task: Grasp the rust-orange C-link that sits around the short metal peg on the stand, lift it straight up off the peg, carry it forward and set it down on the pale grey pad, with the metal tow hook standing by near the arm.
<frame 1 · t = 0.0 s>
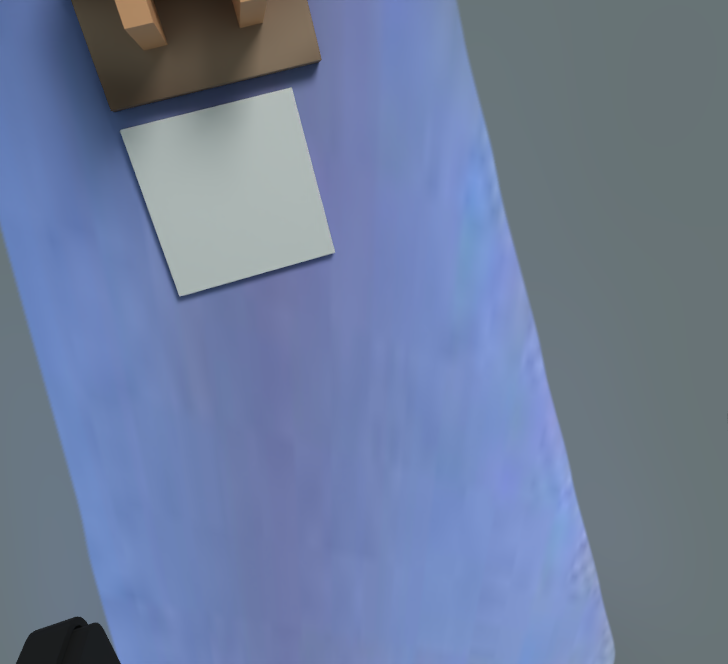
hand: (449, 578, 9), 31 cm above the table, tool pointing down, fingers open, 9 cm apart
pad: (234, 194, 36), on the table
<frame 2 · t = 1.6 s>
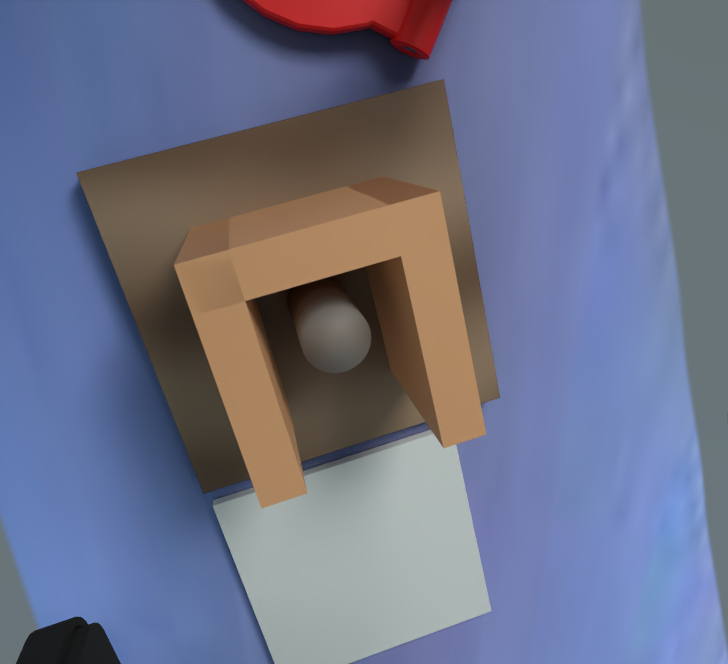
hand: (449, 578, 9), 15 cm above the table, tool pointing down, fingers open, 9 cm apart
pad: (362, 557, 26), on the table
c link: (315, 299, 21), point 1 cm above the table, touching stand
stand: (312, 293, 22), on the table
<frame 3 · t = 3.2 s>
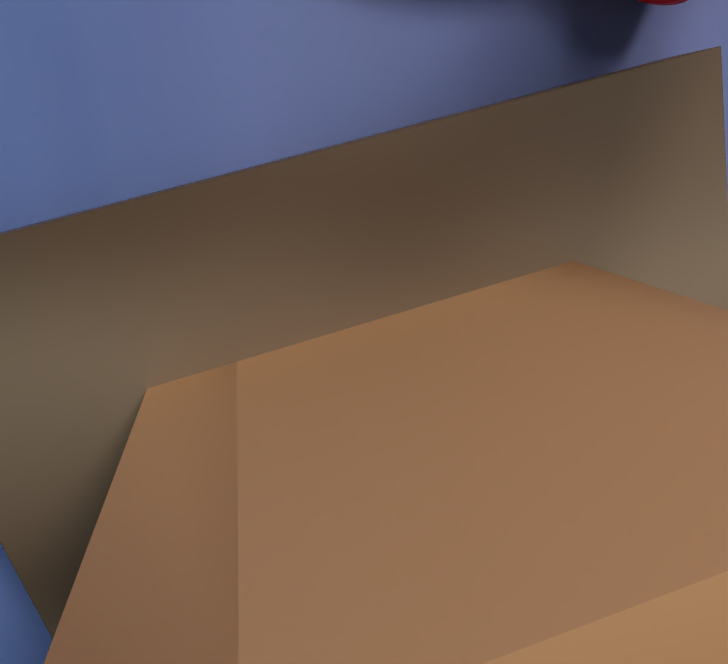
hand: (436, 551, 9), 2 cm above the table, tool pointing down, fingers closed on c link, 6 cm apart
c link: (418, 515, 10), point 1 cm above the table, touching gripper, stand
stand: (402, 484, 11), on the table
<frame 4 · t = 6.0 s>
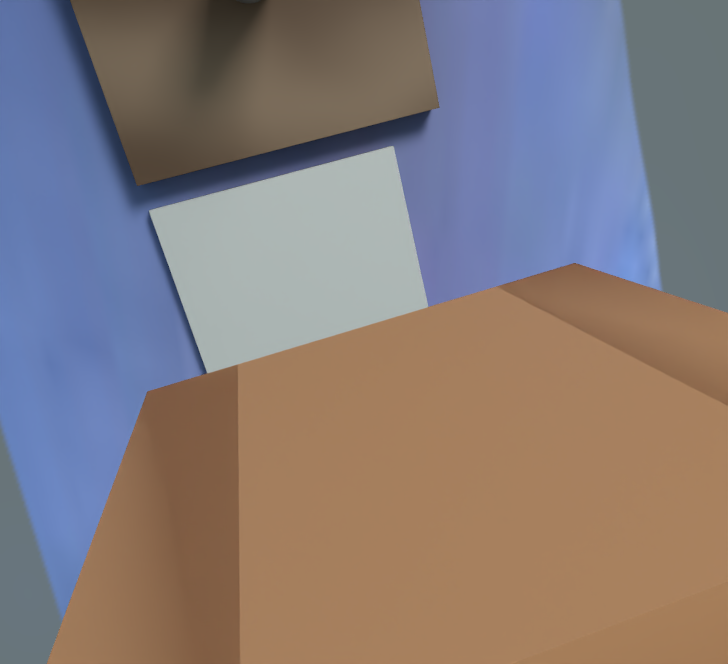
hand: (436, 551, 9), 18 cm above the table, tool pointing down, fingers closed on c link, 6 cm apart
pad: (306, 293, 26), on the table
c link: (419, 518, 10), point 17 cm above the table, touching gripper
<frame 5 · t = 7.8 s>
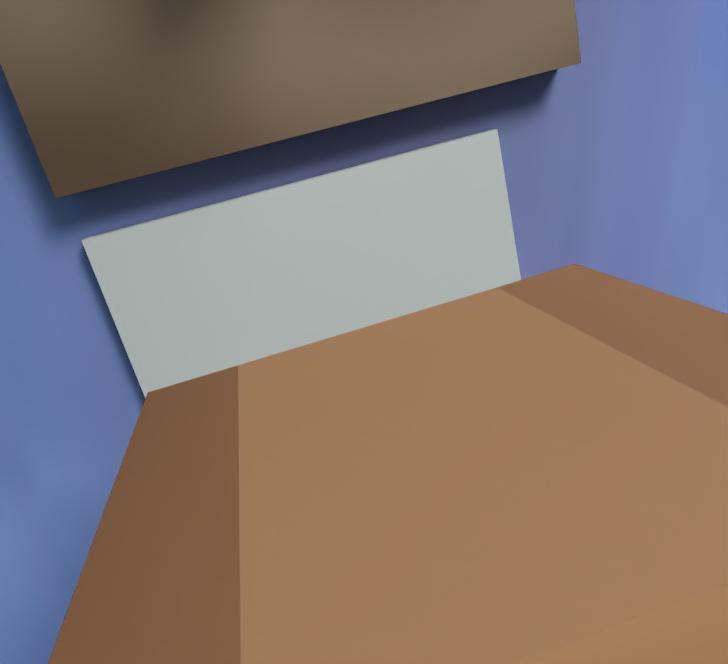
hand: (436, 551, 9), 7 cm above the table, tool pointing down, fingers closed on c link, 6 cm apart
pad: (347, 368, 16), on the table
c link: (419, 519, 10), point 7 cm above the table, touching gripper
when the fingers open (3 cm above the table, at t = 9.2 s): c link drops 2 cm, resting on pad.
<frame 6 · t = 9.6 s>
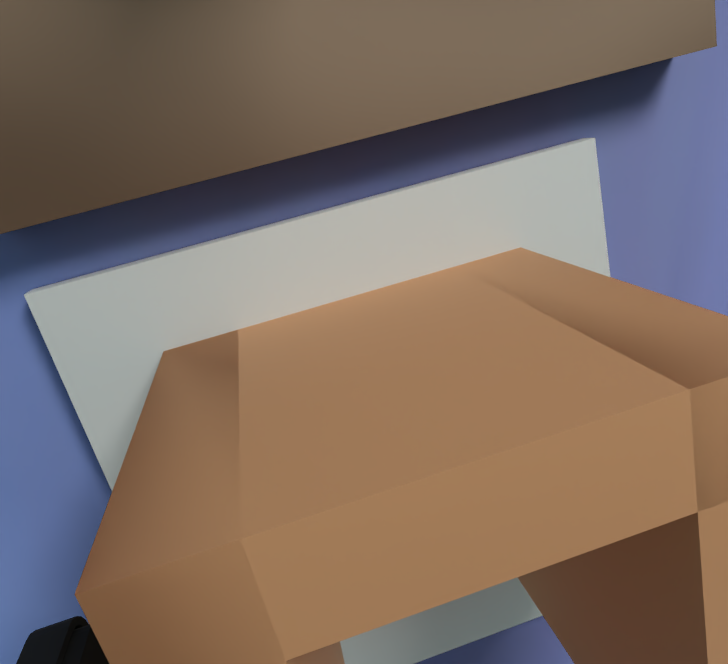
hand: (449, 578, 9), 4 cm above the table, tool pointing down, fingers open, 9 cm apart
pad: (386, 453, 12), on the table
c link: (392, 464, 12), resting on pad
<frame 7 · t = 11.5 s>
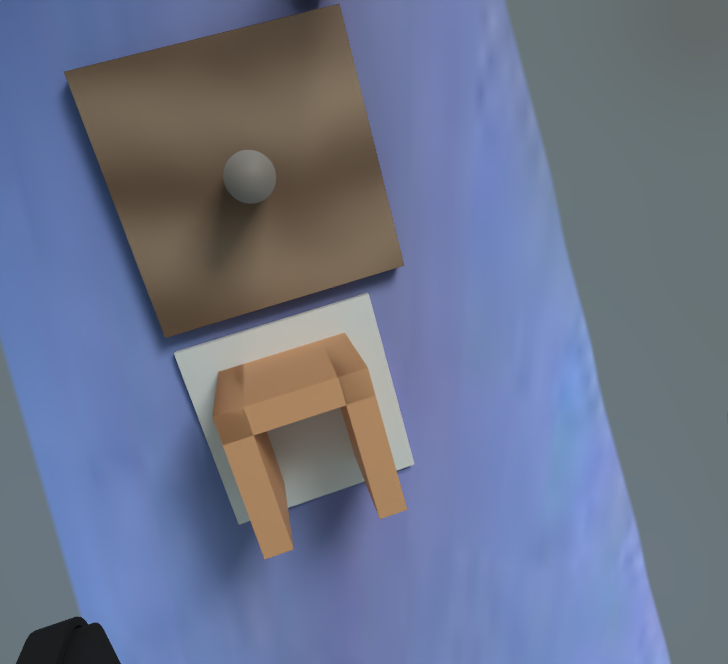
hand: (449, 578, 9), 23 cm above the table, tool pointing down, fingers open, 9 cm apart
pad: (301, 409, 32), on the table
c link: (302, 413, 31), resting on pad
stand: (248, 177, 28), on the table
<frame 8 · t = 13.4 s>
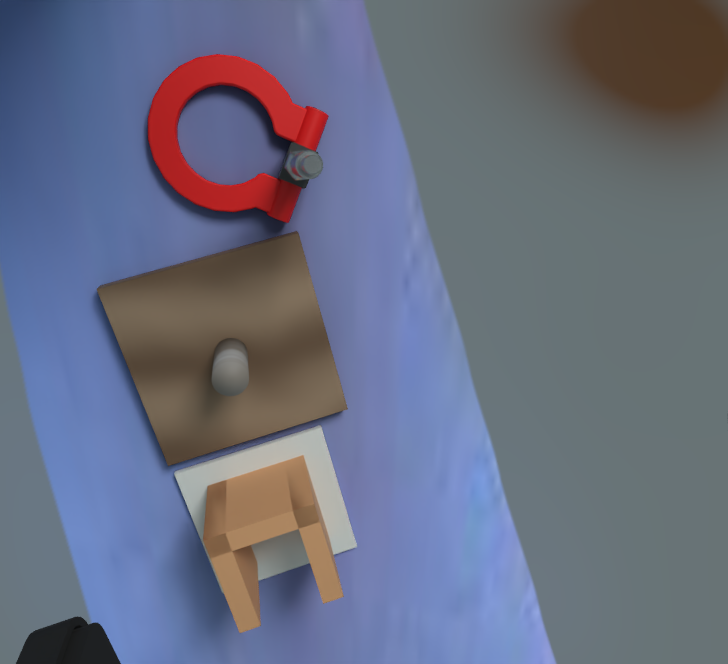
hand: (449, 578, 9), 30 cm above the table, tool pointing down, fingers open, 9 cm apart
tow hook: (233, 139, 35), on the table
pad: (270, 509, 42), on the table
c link: (270, 513, 41), resting on pad
stand: (231, 348, 38), on the table
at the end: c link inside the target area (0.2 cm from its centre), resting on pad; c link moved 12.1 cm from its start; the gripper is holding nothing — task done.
